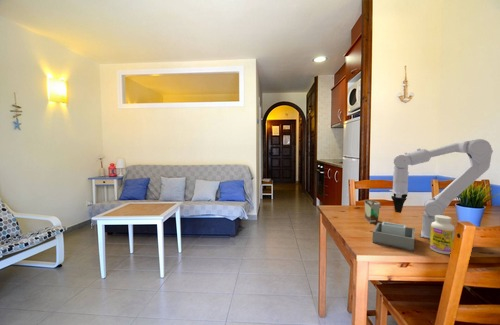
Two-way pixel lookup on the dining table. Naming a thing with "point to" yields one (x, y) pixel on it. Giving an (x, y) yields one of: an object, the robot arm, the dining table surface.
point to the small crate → (393, 229)
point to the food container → (372, 211)
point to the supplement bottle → (441, 234)
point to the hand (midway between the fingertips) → (398, 210)
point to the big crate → (394, 238)
